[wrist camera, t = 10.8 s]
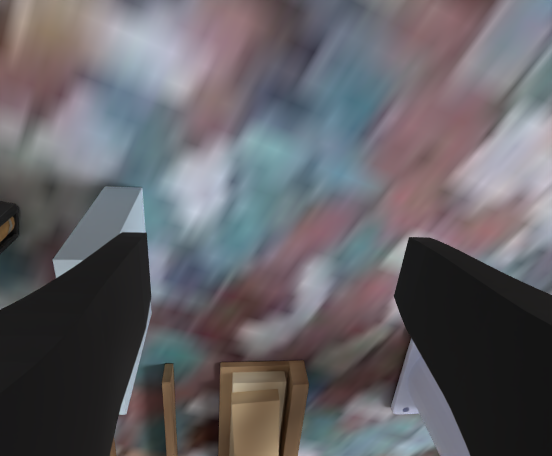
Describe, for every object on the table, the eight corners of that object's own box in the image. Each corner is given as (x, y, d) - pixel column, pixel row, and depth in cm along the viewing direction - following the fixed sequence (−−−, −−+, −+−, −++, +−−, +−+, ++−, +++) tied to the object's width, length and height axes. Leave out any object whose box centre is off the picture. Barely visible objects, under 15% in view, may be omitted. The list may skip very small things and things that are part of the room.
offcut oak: (278, 388, 26) (279, 400, 26) (276, 465, 30) (278, 477, 29) (231, 392, 26) (231, 404, 25) (235, 469, 30) (236, 482, 29)
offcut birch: (284, 371, 27) (286, 381, 26) (273, 466, 31) (274, 477, 31) (232, 372, 27) (232, 383, 26) (228, 468, 31) (228, 480, 30)
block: (142, 187, 21) (106, 260, 14) (151, 313, 24) (126, 414, 18) (105, 185, 20) (52, 259, 14) (120, 313, 24) (83, 416, 18)
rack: (303, 360, 27) (308, 384, 26) (285, 483, 33) (289, 509, 32) (77, 365, 25) (66, 391, 24) (102, 495, 31) (94, 523, 30)
